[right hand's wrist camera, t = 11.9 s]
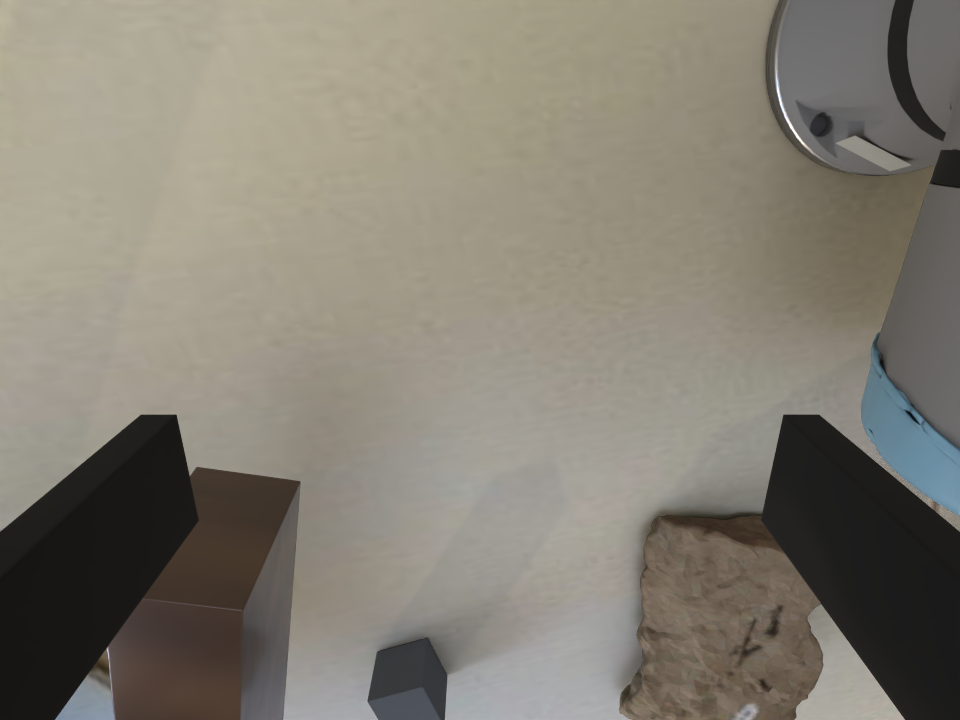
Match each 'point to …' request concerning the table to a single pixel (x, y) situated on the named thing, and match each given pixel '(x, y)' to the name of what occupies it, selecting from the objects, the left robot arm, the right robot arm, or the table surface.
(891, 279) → the table surface
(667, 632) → the stone
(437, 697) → the block
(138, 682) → the bar
